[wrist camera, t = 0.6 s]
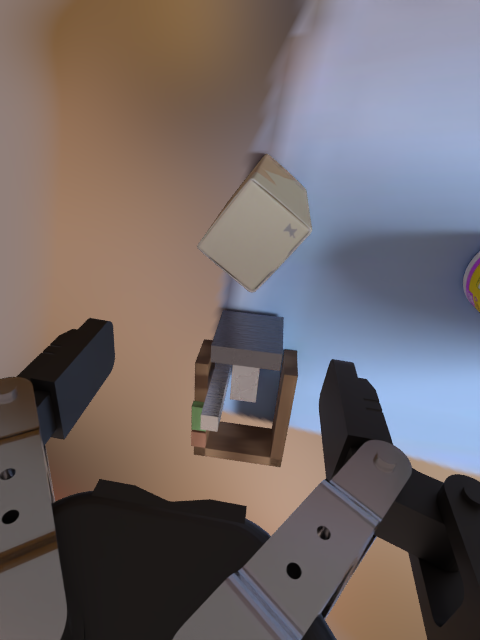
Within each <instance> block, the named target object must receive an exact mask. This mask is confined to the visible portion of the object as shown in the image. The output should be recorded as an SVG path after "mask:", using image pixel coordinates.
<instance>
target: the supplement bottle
mask: <svg viewBox="0 0 480 640" xmlns="http://www.w3.org/2000/svg"><path fill="white" fill-rule="evenodd" d="M463 289H464V293H465V295H466V297H467V299H468V300H469V302H470V303H471V304H472V305H473V306H474V307H475V308H476V309H477V310H478V311H479V312H480V251H479V252H478V253H477V254H476V255H475V256H474V258H473V259H472V260H471V262H470V263H469V265H468V267H467V269H466V271H465V274H464V278H463Z"/></svg>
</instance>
